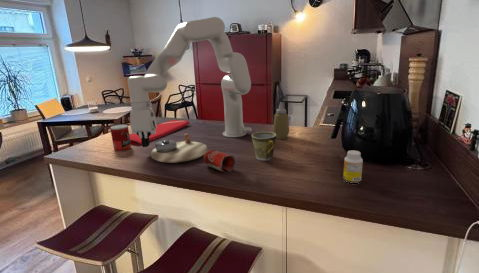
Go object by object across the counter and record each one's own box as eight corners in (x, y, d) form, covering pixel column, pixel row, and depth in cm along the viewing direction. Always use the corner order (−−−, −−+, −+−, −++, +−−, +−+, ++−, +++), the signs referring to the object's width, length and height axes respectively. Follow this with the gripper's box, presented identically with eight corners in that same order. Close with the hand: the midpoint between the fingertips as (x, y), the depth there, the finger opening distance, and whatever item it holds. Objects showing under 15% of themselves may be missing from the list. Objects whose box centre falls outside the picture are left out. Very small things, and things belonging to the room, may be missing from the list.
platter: (213, 144, 135) (212, 133, 133) (197, 163, 112) (196, 150, 111) (165, 143, 139) (164, 133, 138) (140, 161, 117) (139, 149, 115)
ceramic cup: (248, 156, 121) (247, 133, 118) (269, 152, 125) (268, 130, 122) (262, 166, 110) (262, 141, 107) (285, 162, 114) (285, 137, 111)
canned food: (125, 151, 134) (121, 128, 131) (110, 150, 136) (106, 128, 132) (134, 146, 141) (131, 124, 138) (119, 145, 143) (116, 124, 140)
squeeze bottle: (271, 139, 143) (270, 103, 138) (275, 134, 150) (275, 100, 145) (287, 140, 140) (287, 104, 135) (290, 136, 147) (291, 101, 142)
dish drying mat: (118, 143, 149) (117, 136, 148) (170, 124, 183) (170, 118, 182) (140, 146, 141) (139, 139, 140) (190, 126, 176) (190, 120, 175)
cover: (180, 146, 130) (179, 137, 129) (172, 153, 121) (171, 144, 120) (161, 146, 131) (160, 137, 130) (152, 152, 123) (151, 143, 122)
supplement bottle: (346, 176, 99) (348, 148, 96) (363, 180, 95) (365, 151, 93) (340, 182, 95) (342, 153, 92) (357, 186, 91) (360, 156, 88)
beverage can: (215, 162, 117) (214, 146, 115) (236, 169, 108) (235, 153, 107) (201, 167, 112) (200, 151, 110) (222, 175, 104) (221, 158, 102)
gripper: (160, 103, 125) (165, 143, 130) (129, 104, 127) (135, 143, 133) (152, 107, 118) (158, 149, 123) (119, 107, 120) (126, 148, 126)
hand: (146, 146), depth 128 cm, fingers closed
